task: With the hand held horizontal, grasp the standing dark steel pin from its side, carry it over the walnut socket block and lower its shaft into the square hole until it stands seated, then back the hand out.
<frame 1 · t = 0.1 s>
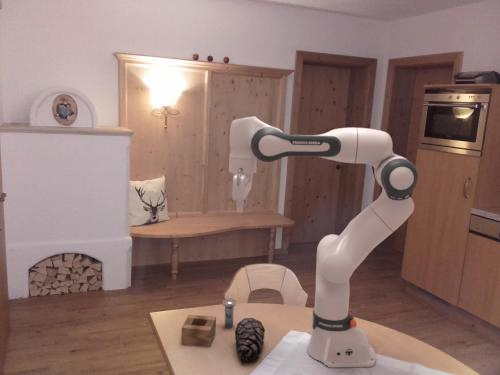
hand: (241, 208, 146), 48 cm above the table, tool pointing down, fingers open, 8 cm apart
socket block: (199, 337, 158), on the table
pine cone: (250, 352, 150), on the table
pin: (228, 326, 167), on the table
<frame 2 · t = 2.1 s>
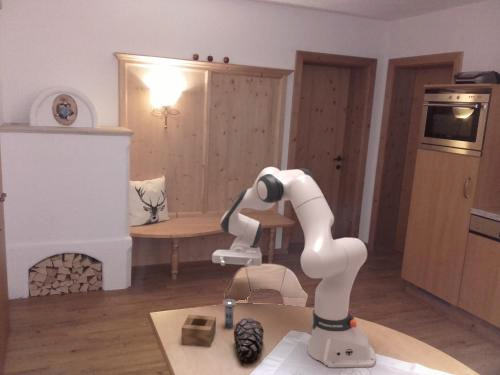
hand: (234, 264, 175), 20 cm above the table, tool horizontal, fingers open, 8 cm apart
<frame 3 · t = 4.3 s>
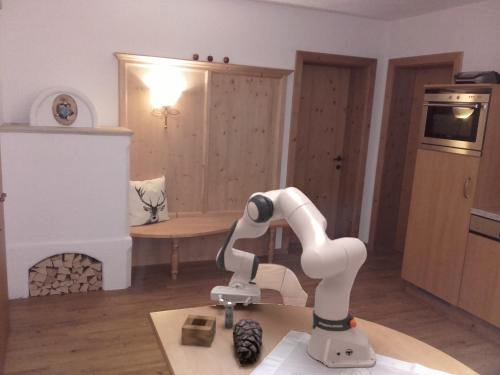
hand: (233, 303, 174), 5 cm above the table, tool horizontal, fingers open, 8 cm apart
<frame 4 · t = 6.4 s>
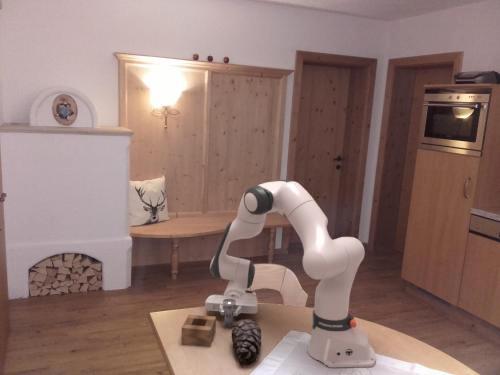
hand: (228, 313, 165), 6 cm above the table, tool horizontal, fingers closed on pin, 3 cm apart
pin: (228, 326, 167), on the table, touching gripper
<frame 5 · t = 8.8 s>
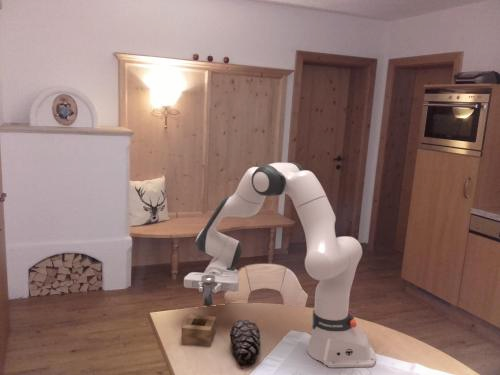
hand: (207, 290, 157), 17 cm above the table, tool horizontal, fingers closed on pin, 3 cm apart
pin: (207, 304, 159), point 11 cm above the table, touching gripper
when the fingers open (10 cm above the table, at t = 11.0 s): pin stays where it is, resting on socket block.
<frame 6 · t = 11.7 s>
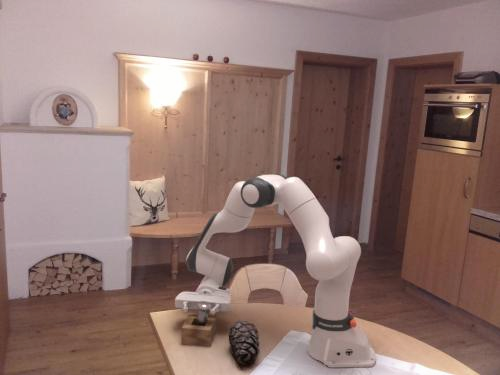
hand: (198, 311, 155), 10 cm above the table, tool horizontal, fingers open, 8 cm apart
pin: (200, 330, 158), point 3 cm above the table, tilted 8°, touching gripper, socket block
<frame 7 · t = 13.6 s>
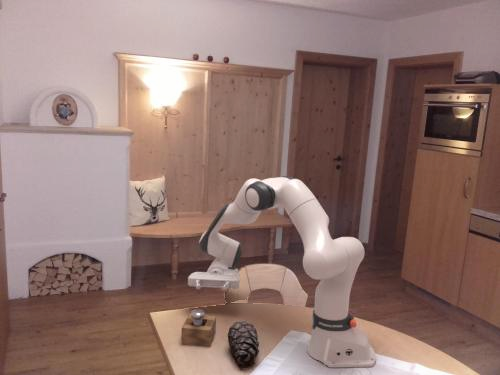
hand: (210, 288, 168), 13 cm above the table, tool horizontal, fingers open, 8 cm apart
pin: (197, 338, 157), resting in socket block
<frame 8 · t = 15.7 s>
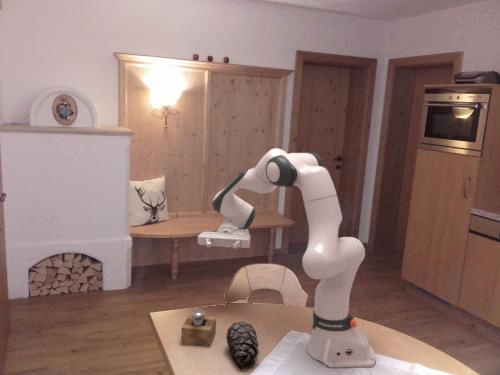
hand: (221, 246, 165), 30 cm above the table, tool horizontal, fingers open, 8 cm apart
at the end: pin 0.9 cm off-centre on the socket block, point 0.0 cm above the socket block's base; pin tilted 1°; the gripper is holding nothing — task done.
